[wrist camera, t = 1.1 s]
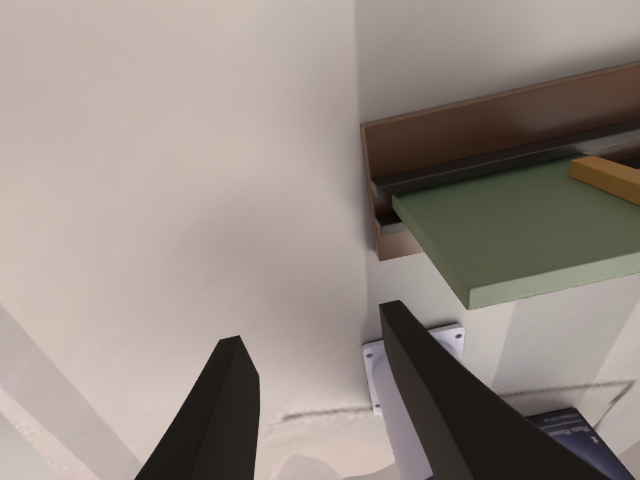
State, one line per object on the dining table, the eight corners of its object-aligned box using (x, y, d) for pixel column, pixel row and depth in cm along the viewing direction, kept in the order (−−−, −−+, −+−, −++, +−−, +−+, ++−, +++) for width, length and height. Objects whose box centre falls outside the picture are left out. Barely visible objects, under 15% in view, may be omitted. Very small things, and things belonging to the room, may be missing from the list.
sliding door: (571, 167, 17) (769, 244, 10) (392, 208, 17) (467, 311, 10) (579, 134, 16) (803, 194, 9) (389, 177, 16) (470, 268, 9)
